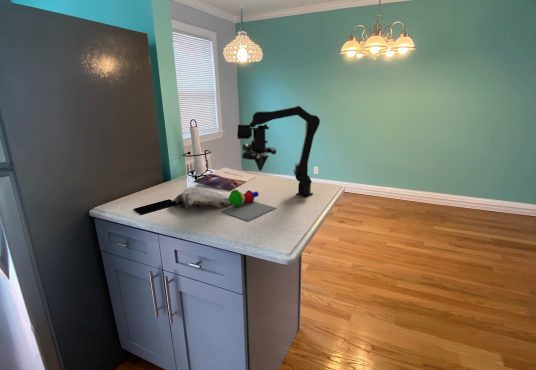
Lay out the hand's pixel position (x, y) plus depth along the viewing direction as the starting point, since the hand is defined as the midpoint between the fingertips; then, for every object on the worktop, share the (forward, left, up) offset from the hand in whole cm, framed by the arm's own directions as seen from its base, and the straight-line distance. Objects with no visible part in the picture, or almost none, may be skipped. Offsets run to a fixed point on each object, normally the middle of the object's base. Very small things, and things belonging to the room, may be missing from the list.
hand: (260, 170), depth 148 cm
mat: (+18, +9, -13) cm, 24 cm away
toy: (+7, +3, -9) cm, 12 cm away
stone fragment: (+25, -16, -14) cm, 33 cm away
